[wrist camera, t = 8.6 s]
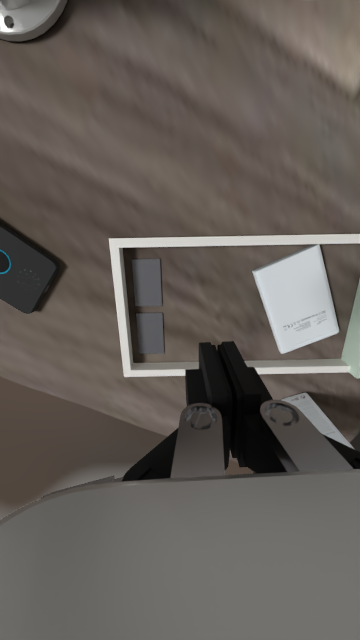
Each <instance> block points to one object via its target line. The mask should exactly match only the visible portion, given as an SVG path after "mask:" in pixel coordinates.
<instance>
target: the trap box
mask: <svg viewBox="0 0 360 640" xmlns="http://www.w3.org/2000/svg"><path fill="white" fill-rule="evenodd" d="M346 243H360V234H325V235H271V236H217V237H163V238H111V239H109V244H110V253H111V263H112V272H113V281H114V290H115V299H116V308H117V317H118V326H119V335H120V344H121V353H122V362H123V371H124V377H143V376H185V370H186V369H199V362H158V363H133V354H132V343H131V333H130V322H129V311H128V301H127V290H126V279H125V269H124V258H123V248H131V247H184V246H238V245H292V244H346ZM132 270H133V282H134V295H135V306H162V293H161V270H160V259H132ZM136 319H137V331H138V343H139V354H157V353H164V338H163V315H162V313H136ZM244 362H245V363H246V365H247V367H254V368H255V369H256V371H257V373H258V374H287V373H335V372H349V373H351V374H352V375H353V376H354V377H356V378H360V279H359V284H358V288H357V292H356V297H355V301H354V305H353V310H352V314H351V318H350V322H349V327H348V331H347V335H346V340H345V344H344V348H343V352H342V357H341V359H304V360H255V361H244Z"/></svg>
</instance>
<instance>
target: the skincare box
mask: <svg viewBox="0 0 360 640" xmlns="http://www.w3.org/2000/svg"><path fill="white" fill-rule="evenodd" d="M281 400H282V401H285V402H288V403H291V404H292V405H294V406H296V407H297V408H298V409H299V410H300V411H301V412H302V413H303V414H304V415H305V416H306V417H307V418H308V419H309V421H310V422H311V423H312V424H313V425H314V426H315V427H316V428H317V429H318V430H319V431H320V433H322V434H324V435H326V436H328V437H330V438H332V439H334V440H336V441H338V442H340V443H342V444H344V445H346V446H348V447H351V448H353V447H352V446H351V444H350V443H349V442H348V441H347V440H346V439H345V437H344V436H343V435H342V434H341V433H340V432H339V430H338V429H337V428H336V427H335V426H334V424H333V423H332V422H331V421H330V420H329V419H328V417H327V416H326V415H325V414H324V413H323V411H322V410H321V409H320V408H319V407H318V406H317V404H316V403H315V402H314V401H313V400H312V398H311V397H310V396H309V395H308V394H307V393H301V394H297V395H294V396H290V397H287V398H284V399H281ZM353 449H354V448H353Z"/></svg>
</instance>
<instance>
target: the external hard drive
mask: <svg viewBox="0 0 360 640" xmlns="http://www.w3.org/2000/svg"><path fill="white" fill-rule="evenodd" d="M252 272H253V275H254V278H255V281H256V284H257V287H258V290H259V293H260V296H261V299H262V302H263V305H264V308H265V310H266V313H267V316H268V319H269V322H270V325H271V328H272V331H273V334H274V337H275V340H276V343H277V346H278V349H279V351H280V352H281V354H283V353H287V352H289V351H292V350H294V349H297V348H300V347H302V346H305V345H307V344H310V343H313V342H315V341H318V340H321V339H323V338H326V337H329V336H331V335H334V334H336V333H338V332H339V328H338V324H337V319H336V315H335V310H334V305H333V301H332V297H331V292H330V288H329V284H328V279H327V275H326V270H325V266H324V262H323V258H322V253H321V249H320V245H319V244H313V245H311V246H309V247H307V248H304V249H302V250H300V251H297V252H295V253H293V254H290V255H288V256H286V257H283V258H281V259H279V260H276V261H274V262H272V263H269V264H267V265H265V266H262V267H260V268H258V269H255V270H253V271H252Z"/></svg>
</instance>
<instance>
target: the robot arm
mask: <svg viewBox="0 0 360 640" xmlns="http://www.w3.org/2000/svg"><path fill="white" fill-rule="evenodd" d="M67 1H68V0H0V39H3V40H7V41H25V40H30V39H34V38H36V37H38V36H39V35H41V34H43V33H45V32H46V31H47V30H48V29H49V28H50V27H51V26H53V25H54V24H55V22H56V21H57V19H58V18H59V16H60V15H61V14H62V12H63V10H64V7H65V5H66V3H67ZM185 381H186V402H187V407H186V408H185V409H184V410H183V411H182V413H181V416H180V422H179V428H178V429H176V430H175V431H174V432H173V433H172V434H170V435H169V436H168V437H167V438H166V439H165V440H163V441H162V442H161V443H160V444H159V445H157V446H156V447H155V448H154V449H153V450H152V451H150V452H149V453H148V454H147V455H146V456H144V457H143V458H142V459H141V460H140V461H138V462H137V463H136V464H135V465H134V466H133V467H131V468H130V470H128V471H127V473H126V474H125V475H124V477H121V478H117V479H114V476H111V477H107V478H103V479H99V480H96V481H92V482H88V483H85V484H81V485H77V486H73V487H70V488H66V489H63V490H59V491H55V492H52V493H50V494H47V495H45V496H43V497H42V498H40V499H39V500H36V501H34V502H32V503H29V504H27V505H25V506H23V507H21V508H20V509H17V510H16V511H14V512H12V513H11V514H9V515H7V516H5V517H4V518H3V519H1V520H0V640H360V452H359V451H357V450H355V449H353V448H351V447H348V446H346V445H344V444H342V443H340V442H338V441H336V440H334V439H332V438H330V437H328V436H326V435H324V434H322V433H320V431H319V430H318V429H317V428H316V427H315V426H314V425H313V424H312V423H311V422H310V421H309V419H308V418H307V417H306V416H305V415H304V414H303V413H302V412H301V411H300V410H299V409H298V408H297V407H296V406H294V405H292V404H291V403H288V402H285V401H282V400H273V399H272V397H271V395H270V394H269V392H268V390H267V388H266V387H265V385H264V383H263V381H262V380H261V378H260V376H259V375H258V373H257V371H256V369H255V368H254V367H247V365H246V363H245V362H244V360H243V358H242V356H241V354H240V352H239V350H238V348H237V347H236V345H235V343H234V341H231V342H222V344H221V345H218V348H217V349H216V347H215V345H211V343H210V342H206V343H199V369H186V370H185ZM230 450H231V454H232V457H233V458H237V460H238V463H239V467H248V468H250V469H251V470H253V474H242V475H241V474H240V475H225V470H226V469H227V467H228V462H229V453H230Z"/></svg>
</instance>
